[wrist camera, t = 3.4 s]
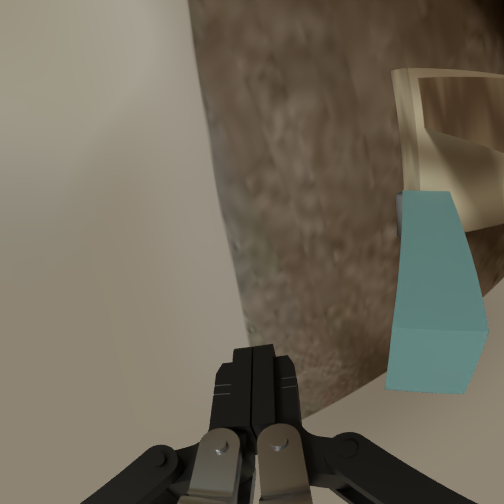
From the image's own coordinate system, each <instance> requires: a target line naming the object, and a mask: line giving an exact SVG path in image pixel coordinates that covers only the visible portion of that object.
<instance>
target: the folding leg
mask: <svg viewBox="0 0 504 504" xmlns="http://www.w3.org/2000/svg"><path fill="white" fill-rule="evenodd" d="M396 206H397V236H398V237H400V238H401V251H400V264H399V276H398V286H397V295H396V303H395V311H394V318H393V325H392V334H391V344H390V353H389V361H388V369H387V376H386V383H385V389H388V390H398V391H411V392H426V393H448V394H464V393H465V391H466V389H467V386H468V384H469V382H470V380H471V377H472V375H473V373H474V370H475V368H476V365H477V363H478V360H479V358H480V355H481V352H482V350H483V347H484V344H485V341H486V338H487V336H488V333H489V330H488V324H487V318H486V313H485V308H484V303H483V298H482V294H481V290H480V285H479V281H478V277H477V273H476V270H475V266H474V262H473V259H472V255H471V252H470V248H469V245H468V242H467V239H466V236H465V232H464V229H463V226H462V224H461V221H460V218H459V215H458V212H457V209H456V207H455V204H454V201H453V199H452V196H451V194H450V191H404V190H403V192H399V193H397V194H396Z"/></svg>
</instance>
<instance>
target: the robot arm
mask: <svg viewBox="0 0 504 504" xmlns="http://www.w3.org/2000/svg"><path fill="white" fill-rule="evenodd" d="M255 455H258V462H259V475H260V487H261V498H260V499H259V504H313V502H312V497H311V491H310V486H316V487H324V488H329V489H330V490H331V491H333V492H334V493H335V494H337V495H338V496H339V497H341V498H342V499H343V500H345V501H346V502H347V503H348V504H477V503H475V502H473V501H471V500H469V499H467V498H466V497H464V496H462V495H460V494H458V493H456V492H454V491H452V490H450V489H449V488H447V487H445V486H443V485H442V484H440V483H438V482H436V481H434V480H433V479H431V478H429V477H427V476H426V475H424V474H422V473H421V472H419V471H417V470H416V469H414V468H412V467H411V466H409V465H407V464H406V463H404V462H403V461H401V460H399V459H398V458H396V457H395V456H393V455H391V454H390V453H388V452H387V451H385V450H384V449H382V448H380V447H379V446H377V445H376V444H374V443H373V442H371V441H370V440H368V439H367V438H365V437H364V436H362V435H360V434H358V433H354V432H346V433H341V434H339V435H336V436H335V437H333V438H328V437H320V436H315V435H312V434H310V433H308V432H307V431H306V430H305V429H304V428H303V427H302V421H301V410H300V401H299V391H298V384H297V378H296V372H295V367H294V364H293V362H292V361H291V359H290V358H289V357H288V355H285V356H279V357H276V355H275V351H274V346H273V344H268V345H261V346H254V348H253V347H247V348H239V349H234V351H233V362H231V363H223V364H222V365H221V367H220V368H219V370H218V372H217V373H216V379H215V388H214V396H213V403H212V410H211V418H210V426H209V430H208V432H207V433H206V434H205V435H204V436H203V437H202V438H201V440H200V442H198V443H197V444H195V445H192V446H189V447H186V448H182V449H179V450H175V451H174V450H173V449H172V448H171V447H169V446H166V445H156V446H153V447H151V448H149V449H148V450H147V451H145V452H144V453H143V454H142V455H141V456H139V457H138V458H137V459H136V460H135V461H134V462H132V463H131V464H130V465H129V466H128V467H126V468H125V469H124V470H123V471H121V472H120V473H119V474H118V475H116V476H115V477H114V478H113V479H111V480H110V481H109V482H108V483H106V484H105V485H104V486H103V487H101V488H100V489H99V490H97V491H96V492H95V493H94V494H92V495H91V496H90V497H88V498H87V499H86V500H84V501H83V502H82V503H80V504H253V499H254V489H255V480H256V468H255Z"/></svg>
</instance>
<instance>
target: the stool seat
mask: <svg viewBox="0 0 504 504" xmlns="http://www.w3.org/2000/svg"><path fill="white" fill-rule="evenodd" d="M390 72H391V77H392V83H393V89H394V95H395V101H396V108H397V115H398V123H399V132H400V141H401V151H402V164H403V179H404V191H450V194H451V196H452V199H453V201H454V204H455V207H456V209H457V212H458V215H459V218H460V221H461V224H462V226H463V229H464V232H469V231H473V230H478V229H482V228H487V227H491V226H496V225H500V224H504V75H500V74H493V73H485V72H476V71H465V70H451V69H430V68H405V69H398V70H391V71H390Z"/></svg>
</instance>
